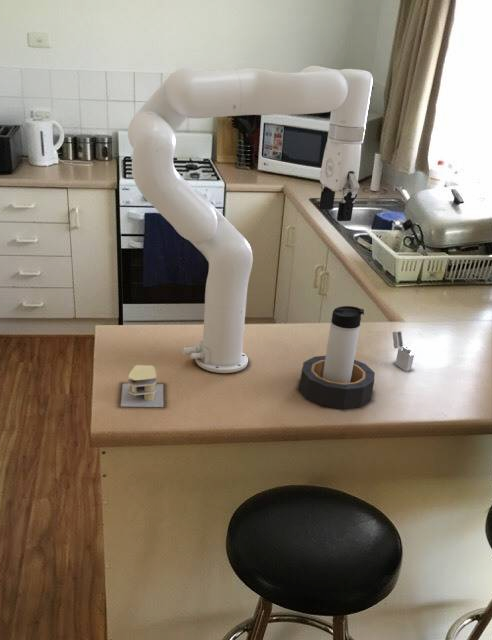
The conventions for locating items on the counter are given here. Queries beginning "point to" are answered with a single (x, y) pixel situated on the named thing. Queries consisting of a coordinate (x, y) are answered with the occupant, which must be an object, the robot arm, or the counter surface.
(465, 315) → the counter surface
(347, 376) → the travel mug
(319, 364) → the tape roll
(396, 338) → the lighter
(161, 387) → the stacked layers on plate
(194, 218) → the robot arm
